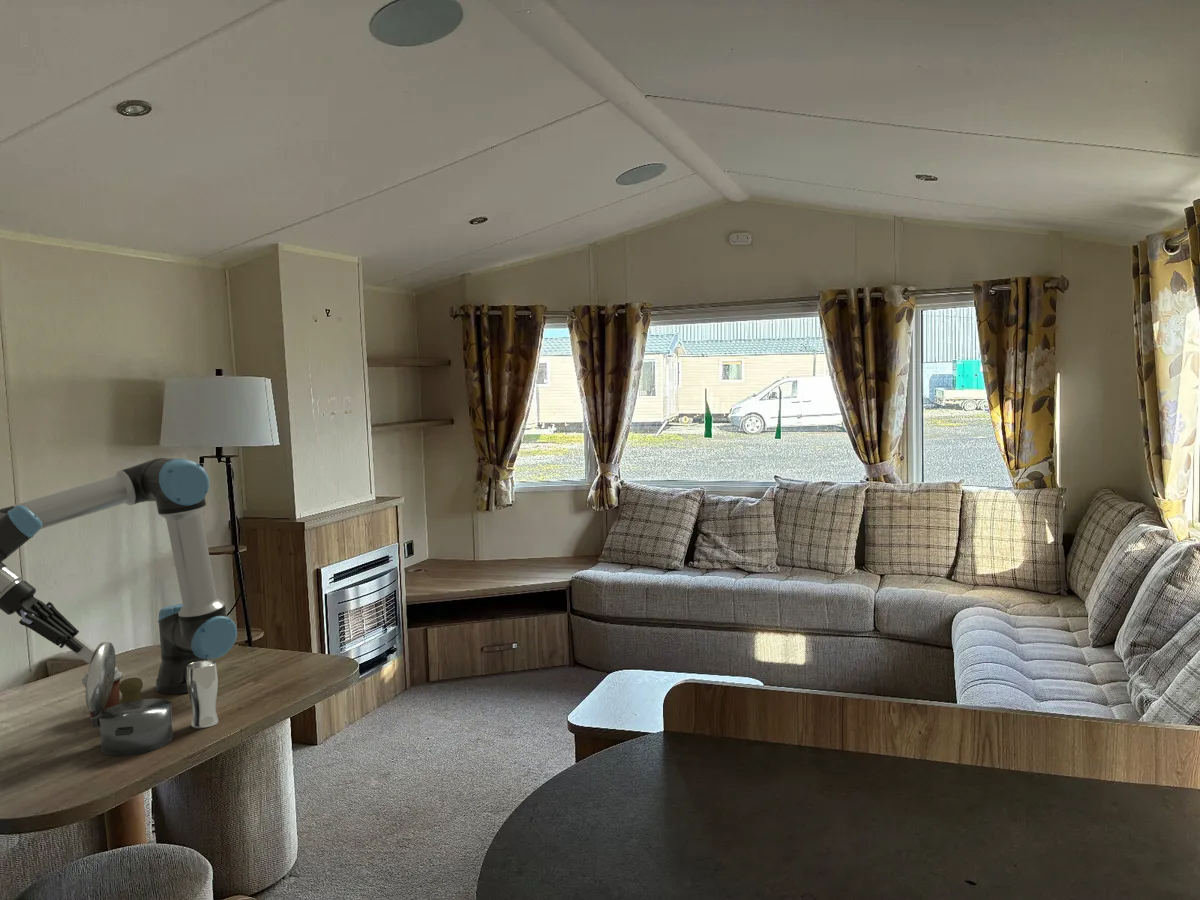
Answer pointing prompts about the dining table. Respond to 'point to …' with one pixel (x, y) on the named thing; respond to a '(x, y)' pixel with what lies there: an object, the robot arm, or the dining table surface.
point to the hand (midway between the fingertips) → (93, 658)
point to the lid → (100, 677)
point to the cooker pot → (135, 727)
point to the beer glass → (203, 692)
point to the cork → (131, 689)
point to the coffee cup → (114, 693)
